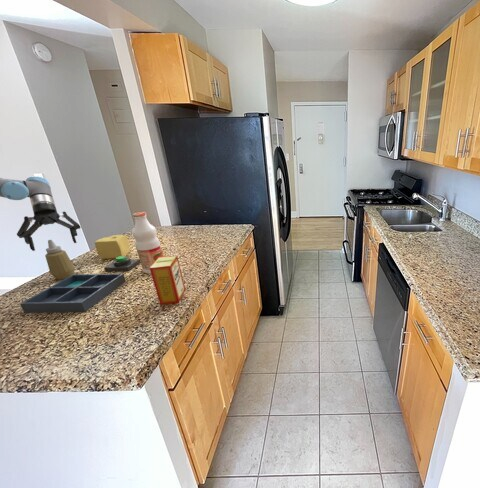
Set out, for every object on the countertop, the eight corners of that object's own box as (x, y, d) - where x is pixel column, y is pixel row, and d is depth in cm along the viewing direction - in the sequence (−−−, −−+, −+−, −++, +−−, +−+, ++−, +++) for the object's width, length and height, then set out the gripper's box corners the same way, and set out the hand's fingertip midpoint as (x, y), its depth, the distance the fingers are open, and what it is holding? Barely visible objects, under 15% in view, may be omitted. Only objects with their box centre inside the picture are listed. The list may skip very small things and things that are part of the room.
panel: (105, 271, 123) (102, 264, 121) (118, 263, 131) (116, 256, 130) (128, 271, 123) (126, 263, 121) (140, 263, 131) (138, 255, 130)
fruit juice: (146, 267, 127) (130, 211, 117) (168, 263, 130) (154, 209, 120) (141, 275, 119) (123, 216, 108) (164, 272, 122) (148, 214, 111)
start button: (115, 262, 124) (113, 259, 123) (120, 259, 127) (119, 255, 127) (122, 262, 124) (121, 258, 123) (127, 259, 127) (126, 255, 127)
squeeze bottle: (73, 271, 123) (58, 235, 117) (80, 275, 120) (65, 238, 113) (50, 278, 117) (33, 241, 110) (56, 283, 113) (39, 245, 106)
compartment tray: (24, 312, 94) (19, 303, 92) (76, 282, 114) (72, 274, 112) (85, 311, 94) (81, 302, 93) (126, 281, 114) (123, 273, 113)
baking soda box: (179, 302, 99) (169, 265, 93) (160, 304, 98) (149, 267, 92) (185, 289, 108) (177, 254, 102) (168, 291, 106) (158, 256, 100)
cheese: (111, 251, 144) (105, 235, 141) (132, 250, 146) (127, 233, 142) (99, 259, 135) (93, 241, 131) (122, 258, 137) (116, 240, 133)
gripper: (81, 206, 132) (92, 242, 127) (7, 215, 117) (17, 256, 112) (77, 198, 126) (88, 235, 121) (-1, 206, 111) (9, 249, 106)
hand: (54, 245), depth 117 cm, fingers open, 13 cm apart
